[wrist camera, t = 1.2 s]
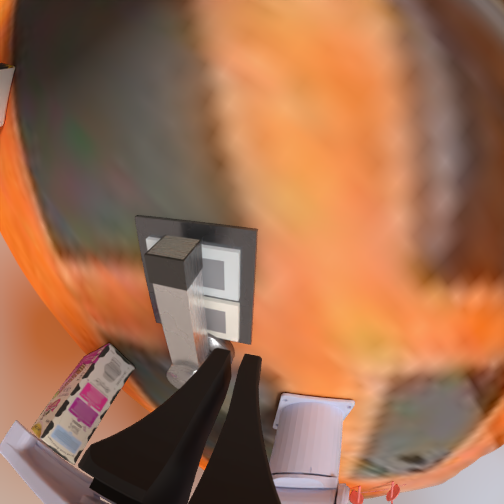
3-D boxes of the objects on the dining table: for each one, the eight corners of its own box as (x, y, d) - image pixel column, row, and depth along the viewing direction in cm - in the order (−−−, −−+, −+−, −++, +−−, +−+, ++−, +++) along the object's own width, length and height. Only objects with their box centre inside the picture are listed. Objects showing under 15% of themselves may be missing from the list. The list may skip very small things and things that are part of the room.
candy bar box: (108, 339, 29) (38, 439, 15) (136, 366, 30) (76, 467, 16) (83, 354, 34) (29, 429, 20) (105, 375, 35) (57, 451, 21)
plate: (251, 342, 22) (250, 344, 22) (157, 320, 24) (156, 322, 24) (257, 229, 17) (256, 231, 17) (137, 215, 19) (134, 216, 18)
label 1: (239, 297, 20) (238, 301, 19) (156, 281, 21) (153, 284, 21) (240, 249, 18) (238, 253, 17) (148, 236, 19) (145, 239, 19)
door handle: (218, 373, 23) (208, 398, 21) (182, 363, 24) (170, 387, 21) (208, 241, 17) (188, 266, 14) (158, 234, 17) (133, 256, 15)
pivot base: (234, 371, 25) (231, 380, 24) (179, 357, 26) (174, 365, 25) (234, 330, 22) (230, 341, 21) (170, 316, 23) (164, 325, 22)
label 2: (239, 338, 22) (237, 342, 22) (164, 321, 23) (162, 324, 23) (239, 302, 20) (237, 306, 20) (157, 285, 21) (154, 289, 21)
